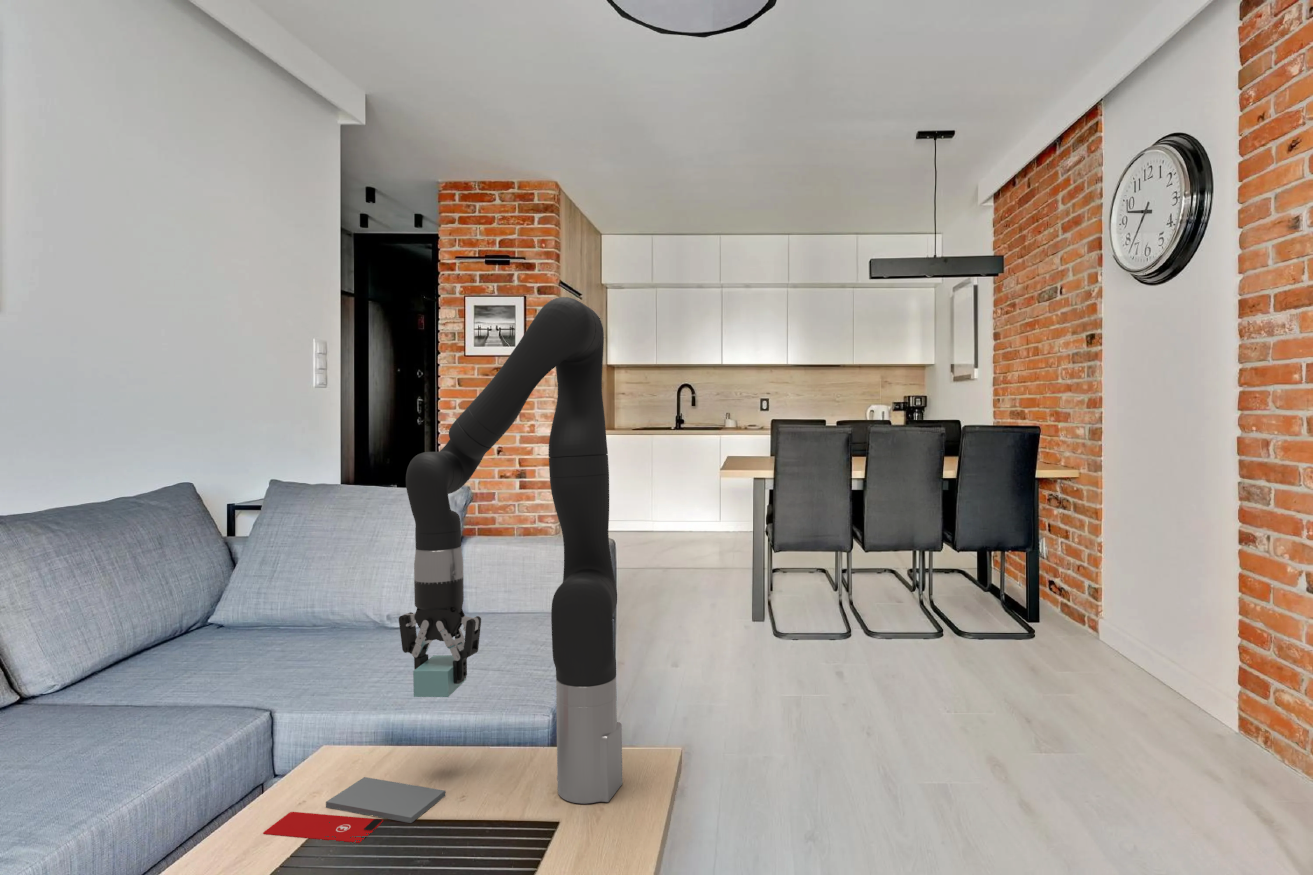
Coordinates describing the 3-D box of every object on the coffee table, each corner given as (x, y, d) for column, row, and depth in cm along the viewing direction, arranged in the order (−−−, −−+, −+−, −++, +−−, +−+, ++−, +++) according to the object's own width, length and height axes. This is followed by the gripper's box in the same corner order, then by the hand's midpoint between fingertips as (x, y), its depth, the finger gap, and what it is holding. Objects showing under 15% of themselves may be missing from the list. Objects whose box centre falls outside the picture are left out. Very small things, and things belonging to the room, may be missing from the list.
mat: (445, 795, 106) (445, 790, 106) (411, 822, 98) (411, 817, 98) (364, 781, 111) (364, 776, 111) (325, 807, 103) (325, 801, 103)
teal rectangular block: (466, 679, 116) (465, 655, 116) (448, 697, 108) (447, 671, 108) (434, 679, 116) (433, 655, 116) (413, 696, 108) (413, 670, 108)
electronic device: (261, 836, 96) (360, 846, 93) (261, 832, 96) (360, 842, 93) (290, 814, 102) (384, 822, 99) (290, 810, 102) (384, 818, 99)
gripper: (490, 573, 114) (492, 676, 113) (414, 570, 118) (416, 669, 117) (465, 582, 106) (467, 692, 106) (385, 578, 110) (387, 684, 110)
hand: (440, 680), depth 112 cm, fingers closed on teal rectangular block, 6 cm apart
